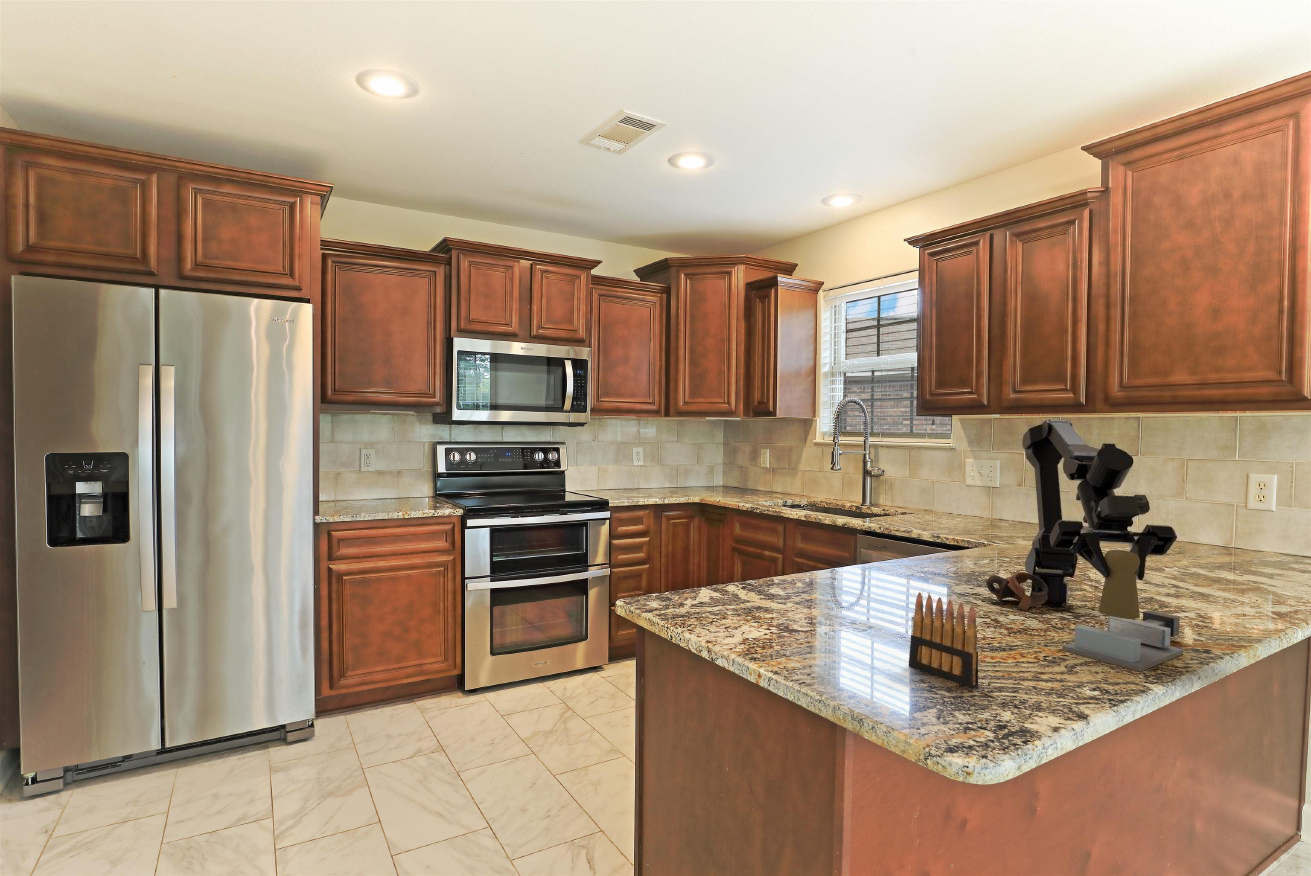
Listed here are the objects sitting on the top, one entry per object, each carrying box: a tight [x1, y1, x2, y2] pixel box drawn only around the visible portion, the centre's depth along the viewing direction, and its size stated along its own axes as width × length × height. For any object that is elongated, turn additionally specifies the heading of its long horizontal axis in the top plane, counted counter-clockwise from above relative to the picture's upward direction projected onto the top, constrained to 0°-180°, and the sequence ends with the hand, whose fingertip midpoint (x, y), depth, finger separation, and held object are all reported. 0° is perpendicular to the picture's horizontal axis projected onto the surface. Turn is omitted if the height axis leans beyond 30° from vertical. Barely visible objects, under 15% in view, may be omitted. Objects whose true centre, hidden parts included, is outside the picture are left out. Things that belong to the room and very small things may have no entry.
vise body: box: [1061, 624, 1184, 673], centre depth 124 cm, size 25×12×4 cm, turn 124°
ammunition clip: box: [908, 591, 979, 689], centre depth 107 cm, size 11×2×12 cm, turn 35°
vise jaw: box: [1106, 609, 1181, 649], centre depth 128 cm, size 12×9×3 cm
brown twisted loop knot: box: [985, 571, 1048, 611], centre depth 152 cm, size 12×10×8 cm
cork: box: [1097, 549, 1141, 620], centre depth 121 cm, size 6×6×11 cm
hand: (1124, 577), depth 120 cm, fingers closed on cork, 5 cm apart
